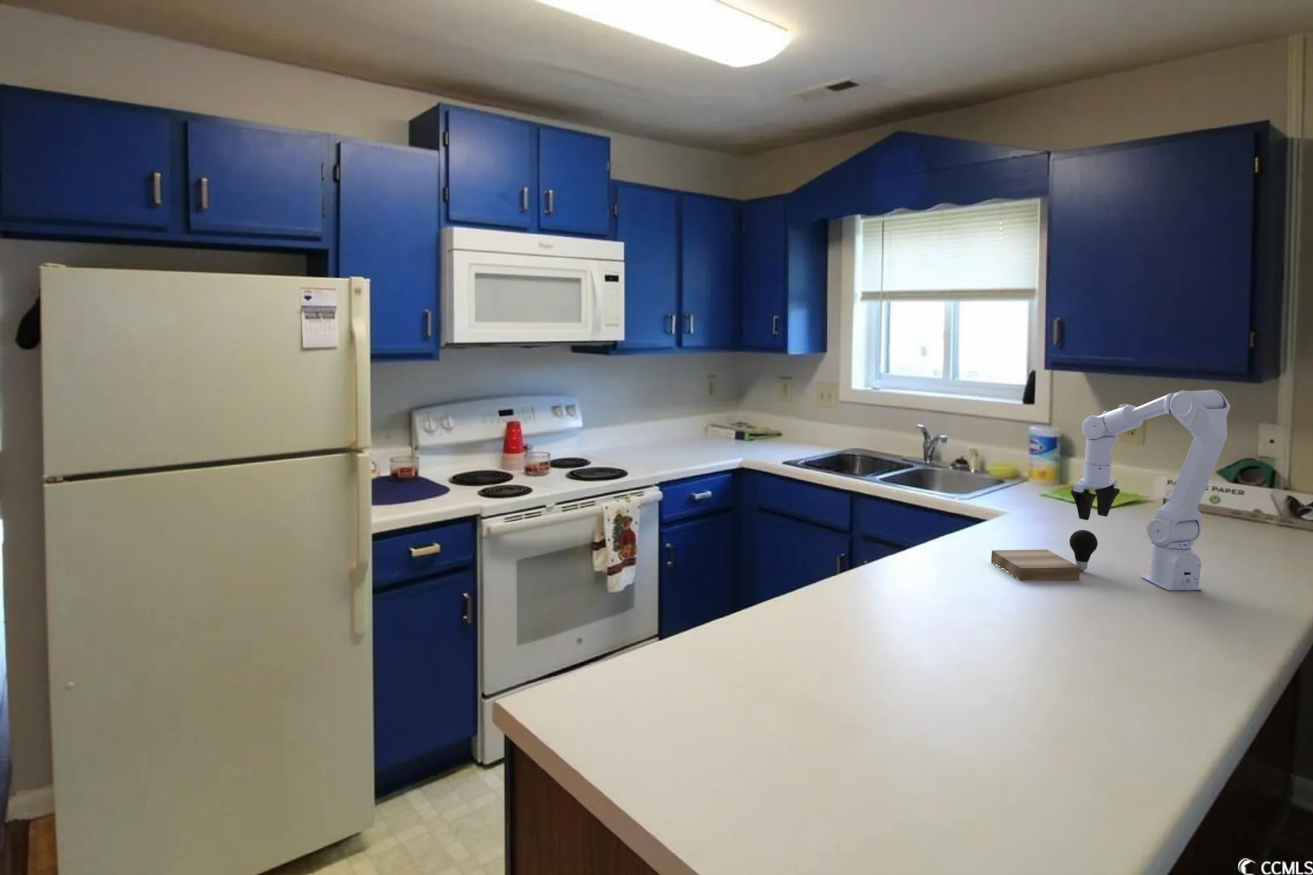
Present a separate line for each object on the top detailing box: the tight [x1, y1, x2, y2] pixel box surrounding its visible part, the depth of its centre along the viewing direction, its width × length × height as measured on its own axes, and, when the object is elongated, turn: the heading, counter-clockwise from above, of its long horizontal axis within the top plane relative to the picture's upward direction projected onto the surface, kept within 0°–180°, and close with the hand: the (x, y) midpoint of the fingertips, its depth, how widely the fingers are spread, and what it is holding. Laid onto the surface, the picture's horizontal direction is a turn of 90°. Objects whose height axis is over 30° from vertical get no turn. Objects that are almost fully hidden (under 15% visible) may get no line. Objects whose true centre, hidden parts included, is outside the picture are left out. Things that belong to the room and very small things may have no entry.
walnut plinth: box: [990, 549, 1081, 581], centre depth 189 cm, size 14×14×3 cm
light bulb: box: [1068, 529, 1099, 573], centre depth 188 cm, size 6×6×10 cm
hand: (1093, 517), depth 198 cm, fingers open, 7 cm apart
